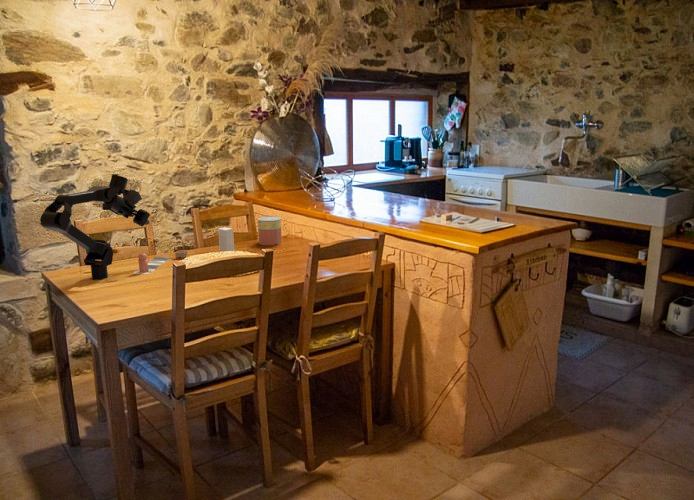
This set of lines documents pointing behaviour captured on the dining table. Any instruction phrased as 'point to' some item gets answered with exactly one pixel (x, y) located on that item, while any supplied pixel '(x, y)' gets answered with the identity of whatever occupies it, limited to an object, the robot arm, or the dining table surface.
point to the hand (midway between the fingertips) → (140, 219)
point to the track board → (154, 264)
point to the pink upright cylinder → (143, 263)
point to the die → (181, 254)
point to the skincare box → (226, 239)
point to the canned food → (269, 230)
